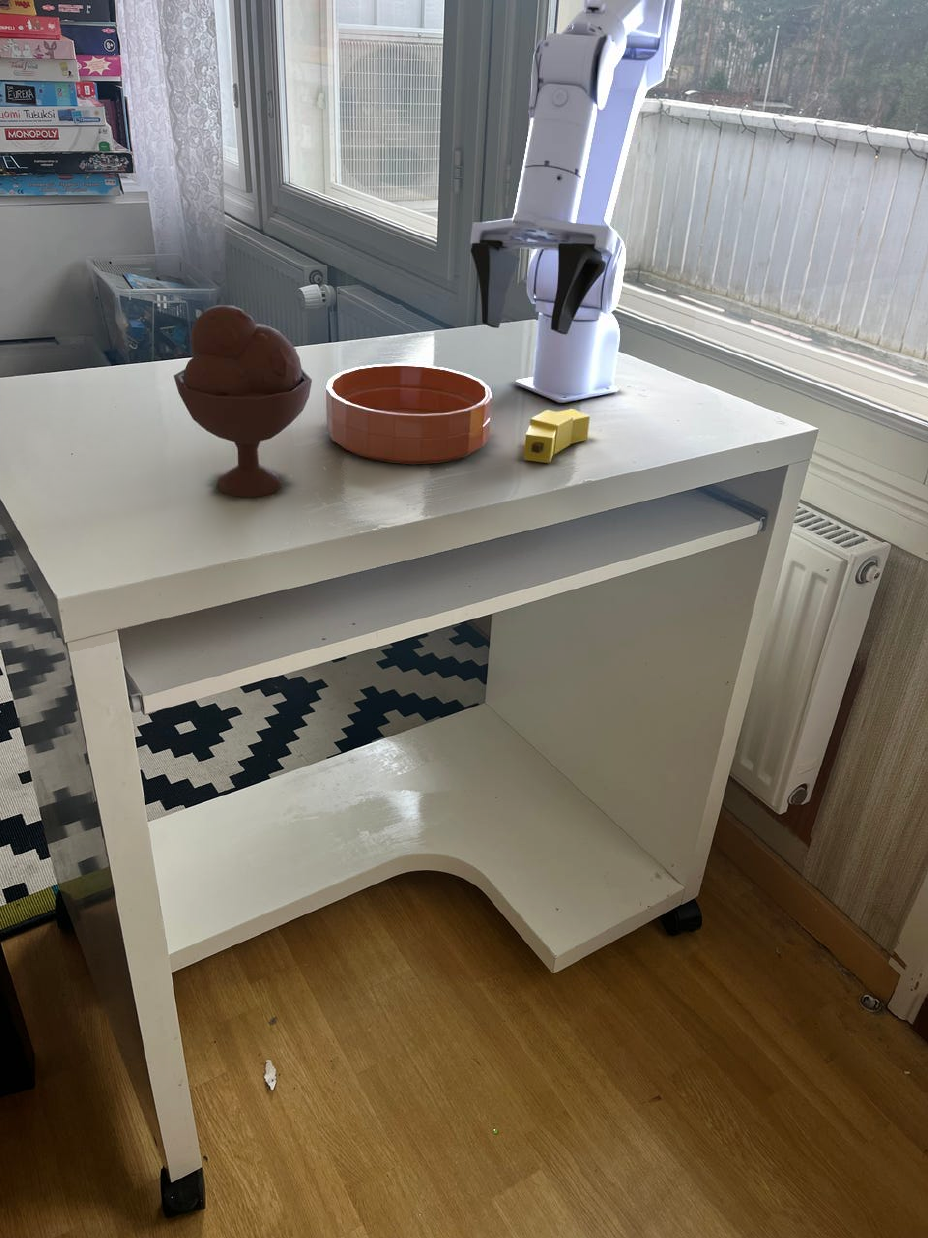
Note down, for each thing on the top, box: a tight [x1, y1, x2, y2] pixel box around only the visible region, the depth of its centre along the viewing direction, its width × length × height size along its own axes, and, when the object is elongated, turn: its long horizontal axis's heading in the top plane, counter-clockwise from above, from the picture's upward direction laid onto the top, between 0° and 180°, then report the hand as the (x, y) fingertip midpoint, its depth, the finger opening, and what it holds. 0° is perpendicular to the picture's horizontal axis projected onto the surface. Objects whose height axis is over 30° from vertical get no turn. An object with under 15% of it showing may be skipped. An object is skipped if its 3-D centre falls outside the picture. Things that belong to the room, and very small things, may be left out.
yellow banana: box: [523, 408, 591, 464], centre depth 94 cm, size 10×4×3 cm, turn 148°
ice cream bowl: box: [173, 304, 313, 498], centre depth 79 cm, size 11×11×15 cm
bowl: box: [325, 363, 493, 465], centre depth 94 cm, size 16×16×5 cm
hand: (523, 328), depth 89 cm, fingers open, 7 cm apart
